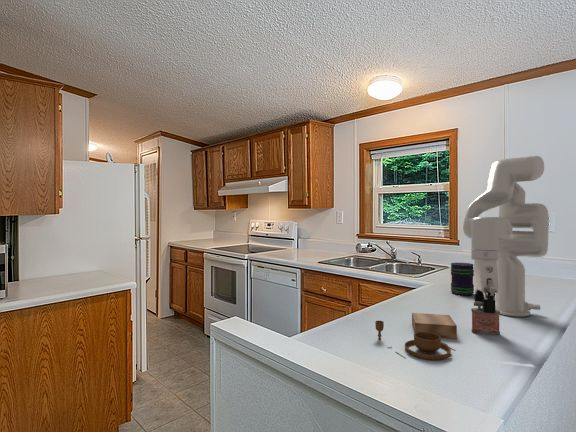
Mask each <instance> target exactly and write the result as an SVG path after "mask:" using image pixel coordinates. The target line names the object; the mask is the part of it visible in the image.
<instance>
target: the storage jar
mask: <svg viewBox="0 0 576 432" xmlns="http://www.w3.org/2000/svg"><path fill="white" fill-rule="evenodd" d="M450 275H451V282H450V291H451V294H452V295H454V294H455V296H458V295H460V296H459V297H473V296H474V294H475V286H474V263H470V262H451V263H450ZM472 295H473V296H472Z"/></svg>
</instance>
